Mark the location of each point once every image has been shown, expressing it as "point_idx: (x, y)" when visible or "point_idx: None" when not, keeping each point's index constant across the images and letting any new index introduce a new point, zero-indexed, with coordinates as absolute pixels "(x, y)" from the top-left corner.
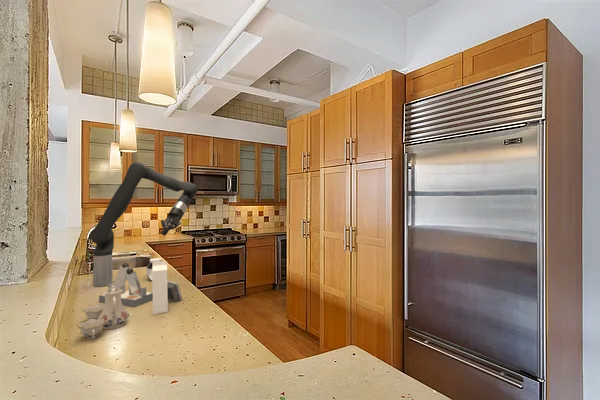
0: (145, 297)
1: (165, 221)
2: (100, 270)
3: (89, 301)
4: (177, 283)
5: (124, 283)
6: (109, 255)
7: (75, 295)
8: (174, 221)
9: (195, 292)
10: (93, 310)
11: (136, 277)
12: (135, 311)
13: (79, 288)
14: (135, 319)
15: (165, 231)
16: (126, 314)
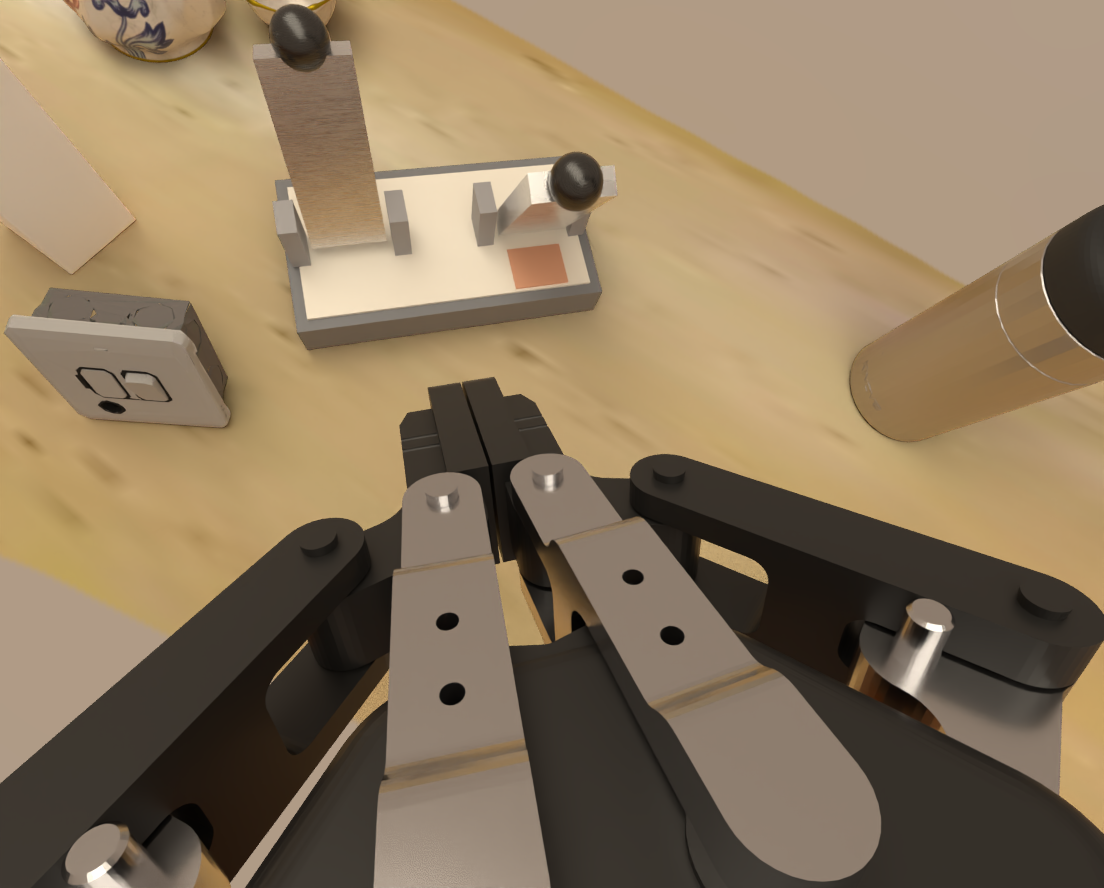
0: (287, 261)
1: (913, 714)
2: (942, 303)
3: (618, 169)
4: (7, 328)
5: (507, 223)
6: (1045, 308)
7: (790, 198)
8: (278, 840)
9: (123, 596)
10: (333, 2)
11: (269, 107)
12: (218, 165)
13: (916, 279)
14: (107, 94)
15: (422, 432)
16: (75, 1)
